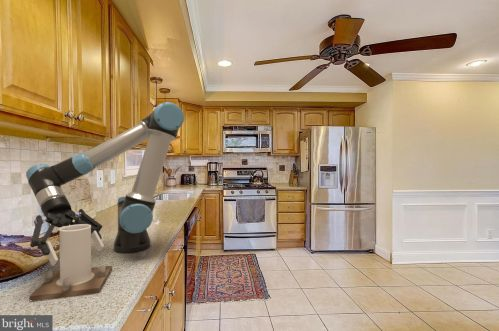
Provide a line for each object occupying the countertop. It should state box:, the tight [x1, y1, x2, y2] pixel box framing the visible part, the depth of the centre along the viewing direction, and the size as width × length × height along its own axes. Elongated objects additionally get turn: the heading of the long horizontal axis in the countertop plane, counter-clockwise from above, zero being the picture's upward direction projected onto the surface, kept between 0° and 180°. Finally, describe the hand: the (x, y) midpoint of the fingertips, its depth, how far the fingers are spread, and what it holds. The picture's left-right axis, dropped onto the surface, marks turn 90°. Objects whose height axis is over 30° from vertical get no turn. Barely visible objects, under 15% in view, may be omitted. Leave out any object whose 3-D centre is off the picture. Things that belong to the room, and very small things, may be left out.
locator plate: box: [28, 265, 113, 301], centre depth 82 cm, size 17×17×4 cm
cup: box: [59, 224, 92, 283], centre depth 82 cm, size 8×8×16 cm
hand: (80, 255), depth 81 cm, fingers open, 13 cm apart
